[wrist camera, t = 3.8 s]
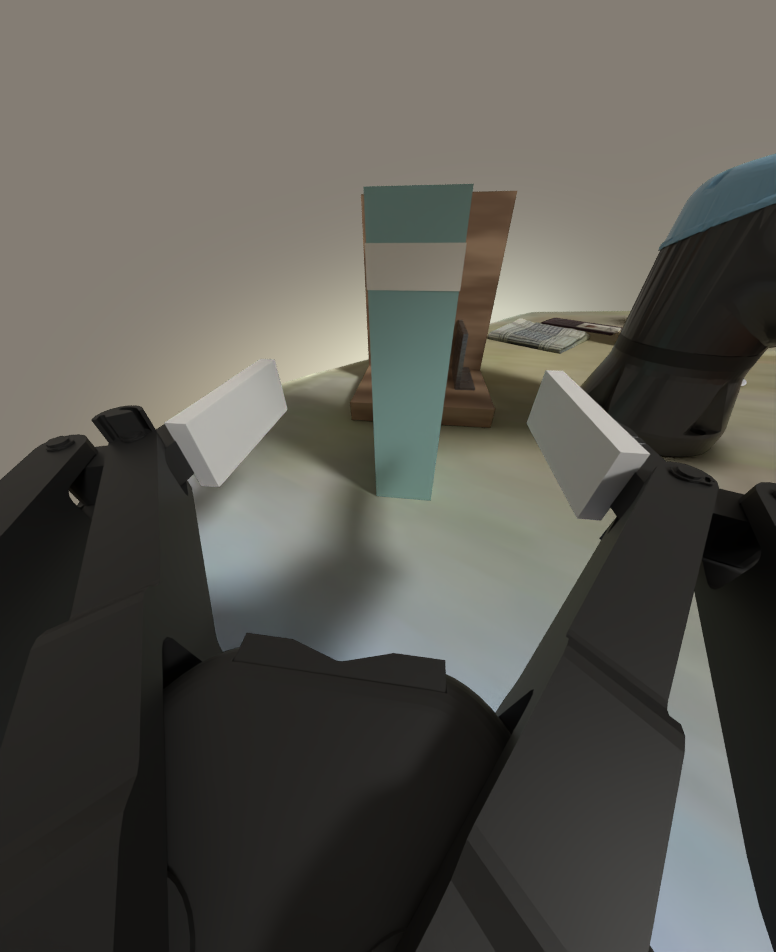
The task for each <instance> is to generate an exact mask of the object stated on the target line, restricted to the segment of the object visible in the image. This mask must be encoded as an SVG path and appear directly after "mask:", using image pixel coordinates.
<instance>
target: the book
mask: <svg viewBox="0 0 776 952" xmlns="http://www.w3.org/2000/svg"><path fill="white" fill-rule="evenodd" d="M472 192H473V184H452V185H412V186H377V187H375V186H372V187H364V210H365V233H366V243H365V260H366V282H367V290H368V305H369V328H370V352H371V376H372V399H373V423H374V447H375V471H376V494H377V496H383V497H395V498H407V499H418V500H430V501H431V494H432V486H433V479H434V472H435V464H436V457H437V450H438V442H439V435H440V428H441V420H442V413H443V405H444V398H445V391H446V383H447V376H448V369H449V361H450V354H451V347H452V339H453V332H454V324H455V317H456V310H457V302H458V295H459V291H460V288H461V281H462V273H463V266H464V259H465V252H466V244H467V243H466V236H467V229H468V221H469V214H470V207H471V199H472Z"/></svg>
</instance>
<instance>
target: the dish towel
mask: <svg viewBox="0 0 776 952" xmlns="http://www.w3.org/2000/svg"><path fill="white" fill-rule="evenodd" d="M589 337H590V335H589V334H587V333H586V332H584V331H578V330H575V329H571V328H560V327H555V326H550V325H544V324H541V323H533V322H531V321H527V320H524V319H522V318H519V319H517V320H516V321H513V322H511V323H509V324H507V325H505V326H503V327H501V328H499V329H496V330H494V331H492V332H490V334H489V335H488V338H489V339H492V340H496V341H501V342H506V343H511V344H515V345H520V346H525V347H530V348H534V349H539V350H544V351H549V352H554V353H559V354H561V353H562V352H564V351H566V350H568V349H570V348H573V347H575V346H577V345H579V344H581V343H583V342H585V341H586V340H587V339H588V338H589Z"/></svg>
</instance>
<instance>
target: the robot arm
mask: <svg viewBox="0 0 776 952" xmlns="http://www.w3.org/2000/svg"><path fill="white" fill-rule="evenodd" d="M658 251H660V252H659V254H658V256H657V258H656V260H655V263H654V265H653V267H652V269H651V271H650V273H649V275H648V277H647V279H646V281H645V283H644V285H643V287H642V289H641V291H640V294H639V296H638V298H637V300H636V302H635V304H634V306H633V308H632V310H631V312H630V314H629V316H628V318H627V320H626V322H625V324H624V326H623V328H622V331H621V333H620V335H619V337H618V339H617V341H616V343H615V345H614V347H613V349H612V351H611V352H610V354H609V355H608V356H607V357H606V358H605V359H604V360H603V362H602V363H601V364H600V365H599V366H598V367H597V368H596V369H595V371H594V372H593V373H592V374H591V375H590V376H589V377H588V378H587V380H586V381H585V382H584V383H583V384H582V385H581V386H580V387H579V386H578V385H577V384H576V383H575V382H574V381H573V380H572V379H571V378H570V377H569V376H568V375H567V374H566V373H565V372H564V371H553V370H546V371H545V374H544V376H543V379H542V382H541V385H540V387H539V390H538V393H537V396H536V398H535V401H534V404H533V407H532V410H531V412H530V415H529V418H528V421H527V425H528V427H529V429H530V431H531V433H532V435H533V436H534V438H535V440H536V442H537V444H538V446H539V448H540V450H541V451H542V453H543V455H544V457H545V459H546V461H547V463H548V465H549V466H550V468H551V470H552V472H553V474H554V476H555V478H556V480H557V482H558V483H559V485H560V487H561V489H562V491H563V493H564V495H565V497H566V498H567V500H568V502H569V504H570V506H571V508H572V510H573V512H574V513H575V515H576V517H577V518H579V519H590V520H602V518H603V517H604V516H605V514H606V513H607V512H608V510H609V509H610V508H611V509H612V510H613V512H614V513H615V515H616V516H617V517H616V518H615V520H614V521H613V522H612V523H611V525H610V526H609V527H608V528H607V530H606V531H605V532H604V533H603V535H602V536H601V537H600V538H599V539H601V541H600V543H599V545H598V547H597V548H596V550H595V552H594V553H593V555H592V557H591V558H590V560H589V562H588V563H587V565H586V567H585V568H584V570H583V572H582V573H581V575H580V577H579V578H578V580H577V582H576V584H575V585H574V587H573V589H572V590H571V592H570V594H569V595H568V597H567V599H566V600H565V602H564V604H563V605H562V607H561V609H560V610H559V612H558V614H557V615H556V617H555V619H554V621H553V622H552V624H551V626H550V627H549V629H548V631H547V632H546V634H545V636H544V637H543V639H542V641H541V642H540V644H539V646H538V647H537V649H536V651H535V652H534V654H533V656H532V658H531V659H530V661H529V663H528V664H527V666H526V668H525V669H524V671H523V673H522V674H521V676H520V678H519V679H518V681H517V682H516V684H515V685H514V687H513V688H512V689H511V691H510V692H509V693H508V695H507V696H506V697H505V699H504V700H503V702H502V703H501V705H500V706H499V708H498V710H497V711H496V713H495V712H494V711H493V710H492V709H491V708H490V707H489V706H488V705H487V704H486V703H485V702H484V701H483V699H482V698H481V697H480V696H478V695H477V694H476V693H475V692H473V691H472V690H471V689H470V688H469V687H467V686H466V685H464V684H463V683H461V682H460V681H458V680H456V679H455V678H453V677H451V676H449V675H447V674H446V670H445V660H440V659H432V658H425V657H418V656H411V655H403V654H396V653H392V654H386V655H380V656H374V657H367V658H361V659H355V660H349V661H336V660H334V659H332V658H330V657H328V656H326V655H324V654H322V653H320V652H318V651H316V650H314V649H312V648H310V647H308V646H306V645H304V644H302V643H300V642H298V641H296V640H293V639H288V638H281V637H273V636H266V635H259V634H252V633H246V636H245V638H244V640H243V642H242V644H241V646H240V647H238V648H235V649H231V650H228V651H225V652H222V650H221V648H220V646H219V644H218V641H217V638H216V634H215V628H214V621H213V615H212V609H211V603H210V597H209V591H208V585H207V578H206V572H205V566H204V560H203V554H202V548H201V542H200V535H199V529H198V523H197V517H196V511H195V505H194V499H193V492H192V487H191V486H190V484H189V482H188V481H187V480H188V479H189V478H190V477H191V476H192V475H193V474H194V475H195V477H196V478H197V480H198V482H199V483H200V485H201V486H210V487H220V486H221V485H222V484H223V482H224V481H225V480H226V479H227V478H228V477H229V476H230V474H231V473H232V472H233V471H234V470H235V469H236V468H237V467H238V465H239V464H240V463H241V462H242V461H243V460H244V459H245V457H246V456H247V455H248V454H249V453H250V452H251V451H252V449H253V448H254V447H255V446H256V445H257V444H258V443H259V442H260V440H261V439H262V438H263V437H264V436H265V435H266V434H267V432H268V431H269V430H270V429H271V428H272V427H273V426H274V424H275V423H276V422H277V421H278V420H279V419H280V418H281V417H282V415H283V414H284V413H285V412H286V411H287V410H288V409H287V405H286V402H285V398H284V394H283V390H282V386H281V382H280V378H279V374H278V370H277V366H276V363H275V360H272V359H260V360H258V361H257V362H255V363H254V364H252V365H251V366H249V367H248V368H246V369H245V370H243V371H242V372H240V373H239V374H237V375H236V376H234V377H232V378H231V379H229V380H228V381H226V382H225V383H223V384H222V385H220V386H219V387H217V388H216V389H215V390H213V391H211V392H210V393H208V394H207V395H205V396H204V397H202V398H201V399H199V400H198V401H196V402H195V403H193V404H192V405H190V406H189V407H187V408H185V409H184V410H183V411H181V412H180V413H178V414H176V415H175V416H173V417H172V418H170V419H169V420H167V421H166V422H164V425H162V426H161V427H159V428H158V429H155V428H154V426H153V424H152V423H151V421H150V419H149V418H148V417H147V415H146V413H145V411H144V410H143V408H142V407H140V406H123V407H118V408H113V409H110V410H107V411H104V412H102V413H100V414H98V415H97V416H95V417H94V418H93V419H92V422H93V423H94V424H95V426H96V427H97V428H98V429H99V431H100V432H101V433H102V434H103V436H104V437H105V439H106V440H107V441H108V442H109V444H108V446H100V447H94V446H93V444H92V443H91V442H90V441H89V440H88V438H87V437H86V436H85V435H69V436H59V437H56V438H53V439H50V440H48V441H47V442H46V443H44V444H42V445H40V446H39V447H37V448H35V449H34V450H33V451H32V452H31V453H30V454H29V455H28V456H26V457H25V458H24V459H23V460H22V461H21V462H20V463H19V464H18V465H17V466H15V467H14V468H13V469H12V470H11V471H10V472H9V473H7V475H5V476H4V477H3V478H2V479H1V480H0V952H654V951H653V949H652V948H651V946H650V940H651V935H652V929H653V924H654V918H655V913H656V907H657V902H658V896H659V891H660V885H661V880H662V874H663V869H664V863H665V858H666V852H667V847H668V841H669V836H670V830H671V825H672V819H673V814H674V808H675V803H676V797H677V792H678V786H679V781H680V775H681V770H682V764H683V759H684V752H685V735H684V732H683V729H682V726H681V724H680V723H678V722H677V721H676V720H674V719H673V718H672V717H670V716H669V714H668V711H667V704H668V698H669V694H670V690H671V686H672V682H673V677H674V673H675V669H676V665H677V661H678V656H679V652H680V648H681V644H682V640H683V635H684V631H685V627H686V623H687V619H688V615H689V610H690V606H691V602H692V598H693V594H694V592H695V597H696V602H697V607H698V612H699V617H700V622H701V627H702V632H703V637H704V642H705V647H706V652H707V657H708V662H709V667H710V672H711V677H712V682H713V687H714V692H715V697H716V702H717V707H718V713H719V718H720V723H721V728H722V733H723V738H724V743H725V748H726V753H727V758H728V763H729V768H730V773H731V778H732V783H733V788H734V793H735V798H736V803H737V808H738V813H739V818H740V823H741V828H742V833H743V838H744V843H745V848H746V854H747V858H748V862H749V866H750V870H751V874H752V879H753V883H754V887H755V891H756V895H757V899H758V903H759V907H760V910H761V913H762V916H763V919H764V922H765V926H766V929H767V932H768V935H769V938H770V941H771V944H772V947H773V950H774V952H776V483H771V482H761V483H759V484H757V485H755V486H754V487H753V488H752V489H751V490H749V491H748V492H747V493H746V494H745V495H744V494H740V493H736V492H731V491H727V490H723V489H719V486H718V483H717V481H716V480H714V479H713V478H712V477H711V476H710V475H708V474H707V473H705V472H703V471H702V470H699V469H697V468H694V467H692V466H689V465H686V464H682V463H677V462H666V461H665V460H664V459H663V458H662V457H661V456H660V455H662V456H675V457H685V456H695V455H699V454H702V453H705V452H707V451H708V450H709V449H710V448H711V447H712V446H713V445H714V444H715V442H716V441H717V440H718V439H719V438H720V437H721V436H722V434H723V433H724V431H725V429H726V426H727V424H728V421H729V418H730V415H731V412H732V410H733V407H734V404H735V401H736V398H737V395H738V393H739V390H740V387H741V384H742V381H743V379H744V377H745V376H746V374H747V373H748V371H749V370H750V369H751V368H752V366H753V365H754V364H755V363H756V362H757V360H758V359H759V358H760V357H761V356H762V354H763V353H764V352H765V351H766V350H767V349H768V348H769V347H776V154H773V155H769V156H766V157H763V158H759V159H756V160H753V161H750V162H747V163H744V164H741V165H739V166H736V167H733V168H731V169H728V170H726V171H724V172H722V173H720V174H718V175H716V176H714V177H712V178H711V179H709V180H708V181H706V182H705V183H704V184H702V185H701V186H700V187H699V188H698V189H697V190H696V191H695V192H694V193H693V194H692V195H691V196H690V198H689V199H688V200H687V202H686V204H685V205H684V207H683V209H682V211H681V213H680V215H679V216H678V218H677V220H676V222H675V224H674V226H673V227H672V229H671V231H670V233H669V235H668V236H667V238H666V240H665V242H663V243H662V244H661V246H660V247H659V250H658ZM69 491H70V492H71V493H72V494H73V495H74V496H75V497H76V498H77V499H78V500H79V501H80V502H79V503H78V505H76V504H75V503H73V501H72V500H71V498H70V497H69Z"/></svg>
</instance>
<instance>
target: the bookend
mask: <svg viewBox="0 0 776 952" xmlns="http://www.w3.org/2000/svg"><path fill="white" fill-rule="evenodd" d="M467 340H468V332H467V329H466V327H465V324H464V322H463V320H458V326H457V333H456V340H455V347H454V354H453V361H452V368H451V369H452V375H453V381H454V388H455V390H473V391H475V386H474V383H473V379H472V376H471V373H470V369H469V367H463V364H464V358H465V352H466V346H467Z"/></svg>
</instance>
